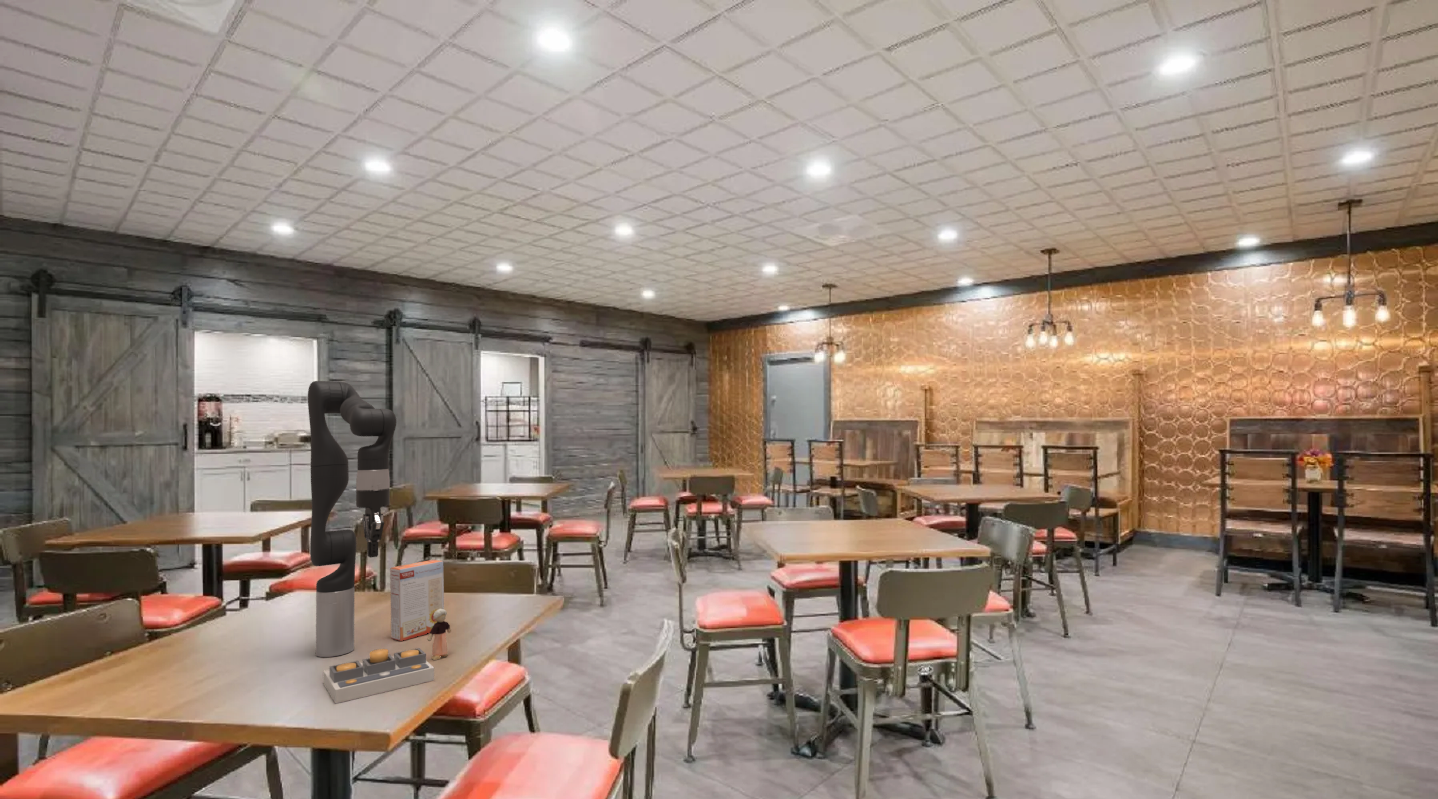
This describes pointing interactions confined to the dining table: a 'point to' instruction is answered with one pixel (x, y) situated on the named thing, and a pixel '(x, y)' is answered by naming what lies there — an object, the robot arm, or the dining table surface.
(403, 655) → the right button
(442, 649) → the grandmother figurine
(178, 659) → the dining table surface
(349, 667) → the left button
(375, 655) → the middle button
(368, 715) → the dining table surface
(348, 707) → the dining table surface
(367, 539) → the robot arm
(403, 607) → the cracker box
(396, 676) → the button console
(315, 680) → the dining table surface
